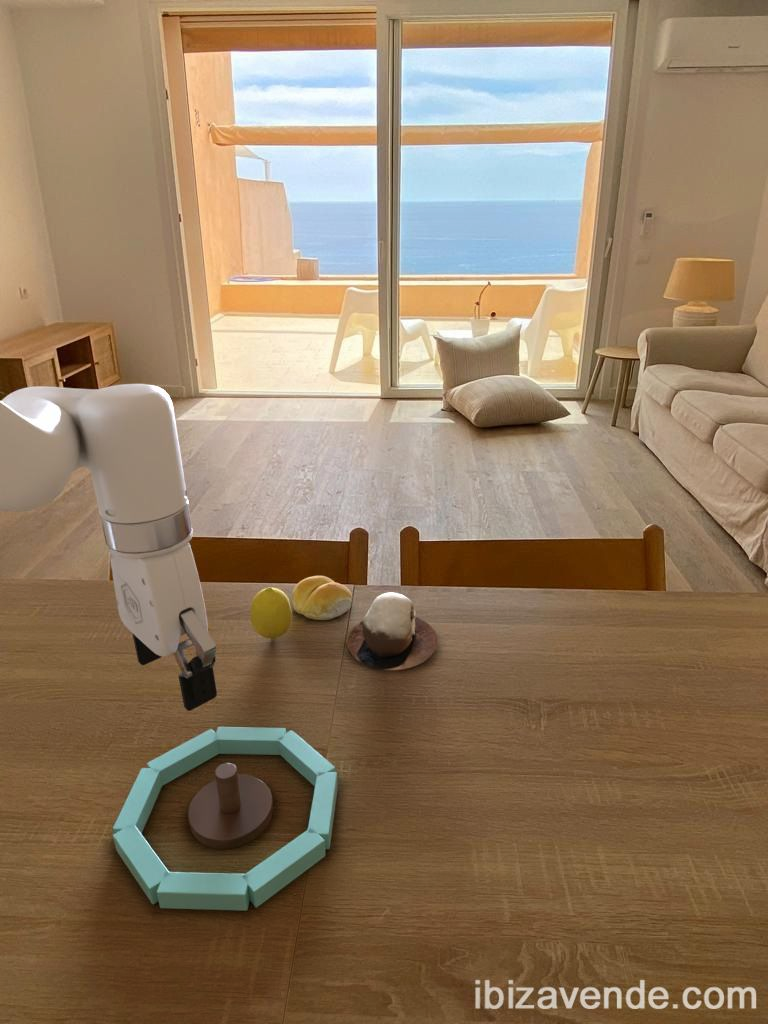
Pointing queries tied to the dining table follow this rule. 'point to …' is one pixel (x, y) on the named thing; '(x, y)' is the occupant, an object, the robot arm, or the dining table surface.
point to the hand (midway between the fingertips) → (176, 679)
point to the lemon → (271, 613)
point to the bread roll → (321, 598)
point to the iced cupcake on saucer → (392, 635)
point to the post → (230, 809)
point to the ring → (222, 887)
